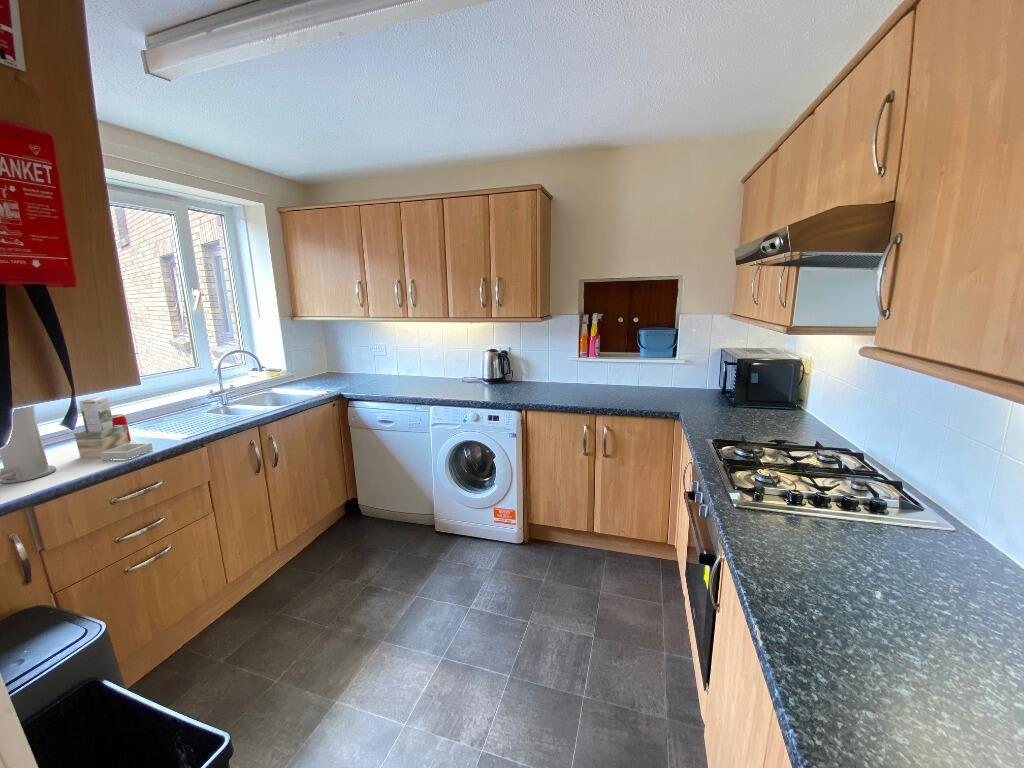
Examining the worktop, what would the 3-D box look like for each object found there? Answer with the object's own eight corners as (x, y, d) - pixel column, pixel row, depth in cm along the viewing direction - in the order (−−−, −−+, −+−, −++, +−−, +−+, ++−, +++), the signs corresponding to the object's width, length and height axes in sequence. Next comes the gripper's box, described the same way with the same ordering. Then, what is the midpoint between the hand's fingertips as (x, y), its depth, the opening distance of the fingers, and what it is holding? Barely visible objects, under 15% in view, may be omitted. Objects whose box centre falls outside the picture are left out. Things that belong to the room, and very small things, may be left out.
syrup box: (100, 433, 165) (91, 397, 162) (116, 432, 165) (107, 396, 162) (87, 438, 159) (77, 400, 156) (103, 437, 160) (94, 400, 157)
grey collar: (128, 460, 154) (126, 452, 153) (102, 460, 155) (100, 452, 154) (153, 450, 164) (151, 443, 163) (128, 450, 165) (127, 443, 164)
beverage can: (107, 447, 170) (100, 418, 168) (116, 442, 176) (110, 414, 174) (125, 445, 172) (119, 417, 169) (134, 440, 178) (128, 413, 175)
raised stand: (104, 457, 159) (98, 432, 157) (80, 457, 159) (74, 433, 157) (130, 447, 168) (124, 424, 166) (106, 448, 169) (101, 425, 167)
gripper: (72, 324, 156) (84, 370, 159) (31, 326, 158) (43, 371, 161) (49, 325, 149) (61, 373, 152) (6, 327, 150) (19, 374, 154)
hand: (52, 372), depth 156 cm, fingers open, 9 cm apart
